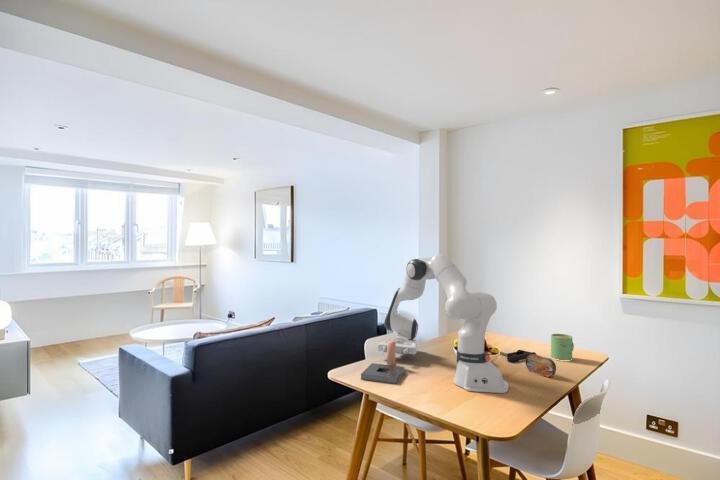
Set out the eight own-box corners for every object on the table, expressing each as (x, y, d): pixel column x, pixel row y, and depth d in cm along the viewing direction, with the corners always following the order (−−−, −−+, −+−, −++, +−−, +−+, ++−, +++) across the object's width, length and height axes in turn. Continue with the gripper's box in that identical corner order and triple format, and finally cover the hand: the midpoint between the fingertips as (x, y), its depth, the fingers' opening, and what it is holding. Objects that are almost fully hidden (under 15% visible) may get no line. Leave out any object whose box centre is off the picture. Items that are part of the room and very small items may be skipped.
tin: (524, 369, 190) (525, 352, 190) (529, 368, 192) (529, 351, 192) (552, 379, 177) (552, 360, 177) (557, 378, 179) (557, 360, 179)
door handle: (488, 351, 214) (512, 357, 200) (514, 347, 223) (539, 352, 209) (489, 357, 214) (513, 364, 199) (515, 353, 223) (539, 359, 209)
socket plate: (404, 372, 185) (404, 367, 185) (396, 384, 169) (396, 378, 169) (371, 368, 190) (372, 363, 190) (361, 379, 175) (361, 373, 175)
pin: (396, 365, 194) (396, 341, 194) (394, 368, 190) (394, 343, 190) (388, 364, 195) (388, 340, 195) (386, 367, 192) (386, 342, 192)
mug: (560, 362, 203) (560, 338, 203) (546, 356, 213) (546, 334, 213) (581, 360, 206) (581, 337, 206) (566, 355, 216) (566, 333, 216)
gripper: (381, 337, 213) (373, 343, 200) (419, 340, 206) (413, 347, 193) (381, 348, 213) (373, 355, 200) (419, 352, 206) (413, 360, 193)
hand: (393, 351), depth 196 cm, fingers open, 8 cm apart
